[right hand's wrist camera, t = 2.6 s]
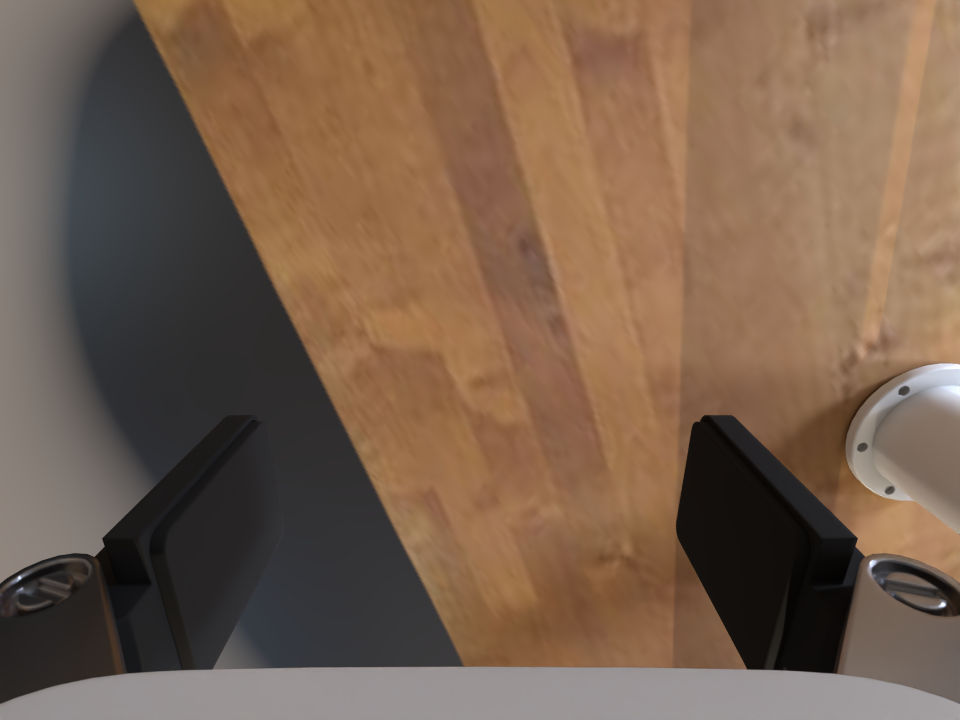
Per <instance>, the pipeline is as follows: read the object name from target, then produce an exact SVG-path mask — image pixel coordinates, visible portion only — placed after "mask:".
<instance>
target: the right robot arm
mask: <svg viewBox="0 0 960 720" xmlns="http://www.w3.org/2000/svg"><path fill="white" fill-rule="evenodd" d="M845 449H846V459H847V462H848V465H849V468H850V470H851V471H852V473H853V474H854V476H855V477H856V478H857V479H858V480H859V481H860V482H861V483H862V484H863V485H864V486H866V487H867V488H868V489H870V490H871V491H873V492H874V493H875V494H878V495H880V496H882V497H885V498H889V499H894V500H901V501H916V502H917V503H919V504H920V505H921V506H922V507H924V508H925V509H926V510H928V511H929V512H930V513H932V514H933V515H934V516H935V517H937V518H938V519H939V520H941V521H942V522H943V523H945V524H946V525H947V526H948V527H950V528H951V529H952V530H954V531H955V532H956V533H958V534H959V535H960V365H958V364H943V363H940V364H933V365H927V366H923V367H919V368H916V369H913V370H910V371H908V372H905V373H903V374H901V375H899V376H897V377H895V378H893V379H892V380H890V381H889V382H887V383H886V384H884V385H883V386H881V387H880V388H879V389H878V390H877V391H876V392H874V393H873V394H872V395H871V396H870V397H869V398H868V399H867V400H866V402H865V403H864V404H863V405H862V406H861V408H860V409H859V410H858V412H857V414H856V415H855V417H854V419H853V420H852V422H851V425H850V428H849V431H848V433H847V439H846V445H845ZM283 531H284V521H283V515H282V509H281V503H280V497H279V491H278V485H277V479H276V473H275V467H274V461H273V455H272V449H271V443H270V437H269V430H268V426H267V424H266V423H265V422H260V420H259V418H258V417H257V416H255V415H228V416H227V417H225V418H224V419H223V420H222V421H221V422H220V423H219V424H218V425H217V426H216V427H215V428H214V429H213V430H212V431H211V432H210V433H209V434H208V435H207V436H206V437H205V438H204V439H203V440H202V441H201V442H200V443H199V444H198V445H197V446H196V447H195V448H194V449H193V450H192V451H191V452H190V453H189V454H188V455H187V456H186V457H184V459H182V460H181V461H180V462H179V463H178V464H177V465H176V466H175V467H174V468H173V469H172V470H171V471H170V472H169V473H168V474H167V475H166V476H165V477H164V478H163V479H162V480H161V481H160V482H159V483H158V484H157V485H156V486H155V487H154V488H153V489H152V490H151V491H150V492H149V493H148V494H147V495H146V496H145V497H144V498H143V499H142V500H141V501H140V502H139V503H138V504H137V505H136V506H135V507H134V508H133V509H132V510H131V511H130V512H129V513H128V514H127V515H126V516H125V517H124V518H123V519H122V520H121V521H119V522H118V523H117V524H116V525H115V526H114V527H113V528H112V529H111V530H110V531H109V532H108V533H107V534H106V535H105V536H104V537H103V542H104V545H105V547H104V548H103V549H102V550H101V551H100V552H99V553H98V554H97V555H96V556H95V557H93V556H91V555H88V554H78V553H73V554H66V555H59V556H56V557H52V558H49V559H45V560H42V561H40V562H37V563H35V564H33V565H30V566H28V567H26V568H24V569H22V570H20V571H19V572H17V573H15V574H13V575H12V576H10V577H8V578H7V579H5V580H4V581H3V582H2V583H0V720H960V583H958V582H957V581H956V580H955V579H953V578H952V577H950V576H948V575H947V574H945V573H943V572H942V571H940V570H938V569H936V568H934V567H932V566H930V565H927V564H925V563H923V562H920V561H918V560H915V559H911V558H908V557H904V556H901V555H894V554H887V553H882V554H872V555H869V556H867V557H865V556H864V555H863V554H862V553H861V552H860V551H859V550H858V549H857V548H856V547H855V545H856V542H857V539H858V538H857V537H856V536H855V535H854V534H853V533H852V532H851V531H850V530H849V529H848V528H847V527H846V526H845V525H844V524H843V523H842V522H841V521H839V520H838V519H837V518H836V517H835V516H834V515H833V514H832V513H831V512H830V511H829V510H828V509H827V508H826V507H825V506H824V505H823V504H822V503H821V502H820V501H819V500H818V499H817V498H816V497H815V496H814V495H813V494H812V493H811V492H810V491H809V490H808V489H807V488H806V487H805V486H804V485H803V484H802V483H801V482H800V481H799V480H798V479H797V478H796V477H795V476H794V475H793V474H792V473H791V472H790V471H789V470H788V469H787V468H786V467H785V466H784V465H783V464H782V463H781V462H780V461H779V460H778V459H777V458H776V457H775V456H773V455H772V454H771V453H770V452H769V451H768V450H767V449H766V448H765V447H764V446H763V445H762V444H761V443H760V442H759V441H758V440H757V439H756V438H755V437H754V436H753V435H752V434H751V433H750V432H749V431H748V430H747V429H746V428H745V427H744V426H743V425H742V424H741V423H740V422H739V421H738V420H737V419H736V418H735V417H733V416H732V415H704V416H703V417H702V418H701V420H700V422H695V423H694V424H693V426H692V430H691V436H690V443H689V449H688V455H687V461H686V467H685V473H684V479H683V485H682V491H681V497H680V503H679V509H678V515H677V521H676V531H677V536H678V539H679V541H680V543H681V545H682V547H683V549H684V551H685V553H686V555H687V556H688V558H689V560H690V562H691V564H692V566H693V568H694V570H695V571H696V573H697V575H698V577H699V579H700V581H701V583H702V585H703V587H704V588H705V590H706V592H707V594H708V596H709V598H710V600H711V602H712V603H713V605H714V607H715V609H716V611H717V613H718V615H719V617H720V618H721V620H722V622H723V624H724V626H725V628H726V630H727V632H728V633H729V635H730V637H731V639H732V641H733V643H734V645H735V647H736V649H737V650H738V652H739V654H740V656H741V658H742V660H743V662H744V664H745V665H746V667H747V669H748V670H740V669H691V668H615V667H345V668H269V669H222V670H212V669H213V667H214V665H215V663H216V662H217V660H218V658H219V656H220V654H221V652H222V650H223V648H224V647H225V645H226V643H227V641H228V639H229V637H230V635H231V633H232V632H233V630H234V628H235V626H236V624H237V622H238V620H239V618H240V617H241V615H242V613H243V611H244V609H245V607H246V605H247V603H248V602H249V600H250V598H251V596H252V594H253V592H254V590H255V588H256V587H257V585H258V583H259V581H260V579H261V577H262V575H263V573H264V571H265V570H266V568H267V566H268V564H269V562H270V560H271V558H272V556H273V555H274V553H275V551H276V549H277V547H278V545H279V543H280V541H281V539H282V536H283Z"/></svg>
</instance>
